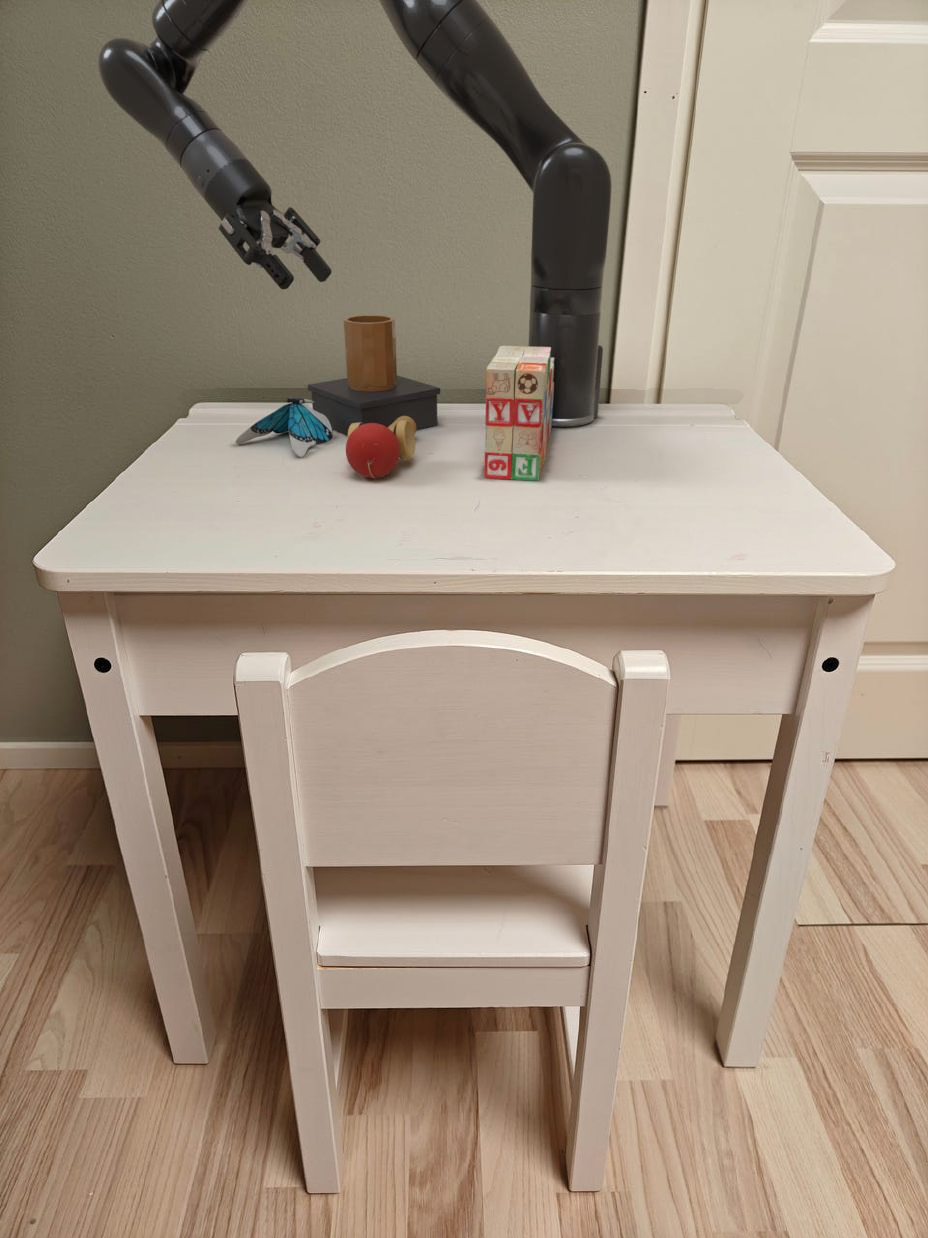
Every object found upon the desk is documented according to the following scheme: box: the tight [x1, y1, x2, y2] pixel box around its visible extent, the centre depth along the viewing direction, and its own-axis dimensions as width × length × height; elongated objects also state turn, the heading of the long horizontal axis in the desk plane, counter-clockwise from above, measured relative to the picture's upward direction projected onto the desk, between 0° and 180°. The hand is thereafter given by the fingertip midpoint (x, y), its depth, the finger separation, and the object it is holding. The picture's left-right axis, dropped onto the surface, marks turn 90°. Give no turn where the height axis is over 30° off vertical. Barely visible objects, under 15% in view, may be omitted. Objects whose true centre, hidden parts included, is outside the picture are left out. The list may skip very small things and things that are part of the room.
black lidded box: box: [307, 374, 441, 436], centre depth 115 cm, size 13×13×5 cm
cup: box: [343, 314, 398, 392], centre depth 112 cm, size 6×6×8 cm
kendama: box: [345, 416, 417, 480], centre depth 101 cm, size 8×6×18 cm
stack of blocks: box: [483, 345, 554, 482], centre depth 102 cm, size 21×6×12 cm, turn 171°
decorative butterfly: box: [235, 396, 333, 458], centre depth 108 cm, size 10×6×10 cm
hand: (308, 280), depth 111 cm, fingers open, 8 cm apart
